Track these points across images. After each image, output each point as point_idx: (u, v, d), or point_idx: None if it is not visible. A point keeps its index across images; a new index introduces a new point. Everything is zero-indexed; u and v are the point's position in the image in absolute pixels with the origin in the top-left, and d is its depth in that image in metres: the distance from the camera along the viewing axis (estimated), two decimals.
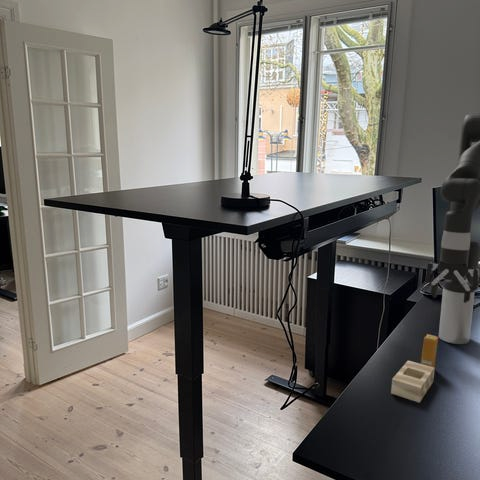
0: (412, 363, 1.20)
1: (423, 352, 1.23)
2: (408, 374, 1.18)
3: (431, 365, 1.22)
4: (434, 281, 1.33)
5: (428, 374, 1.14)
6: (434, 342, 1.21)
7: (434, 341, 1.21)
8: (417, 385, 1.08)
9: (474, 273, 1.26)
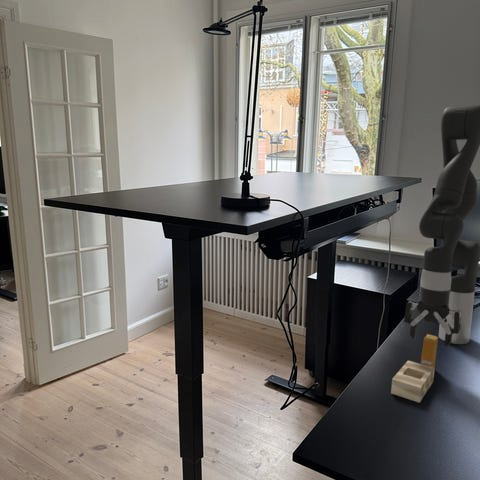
0: (412, 363, 1.20)
1: (423, 352, 1.23)
2: (408, 374, 1.18)
3: (431, 365, 1.22)
4: (413, 322, 1.24)
5: (428, 374, 1.14)
6: (434, 342, 1.21)
7: (434, 341, 1.21)
8: (417, 385, 1.08)
9: (455, 316, 1.17)
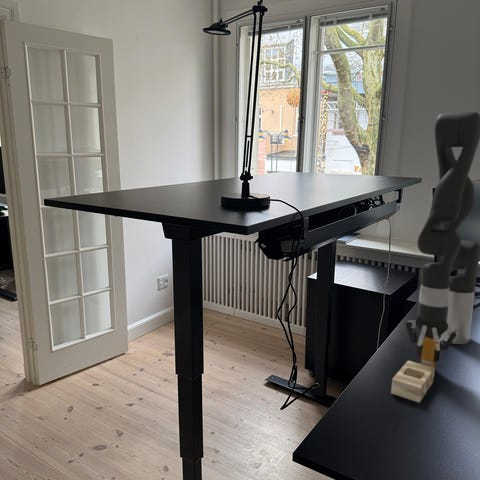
0: (412, 363, 1.20)
1: (423, 352, 1.23)
2: (408, 374, 1.18)
3: (431, 365, 1.22)
4: (420, 342, 1.24)
5: (428, 374, 1.14)
6: None
7: None
8: (417, 385, 1.08)
9: (451, 335, 1.18)
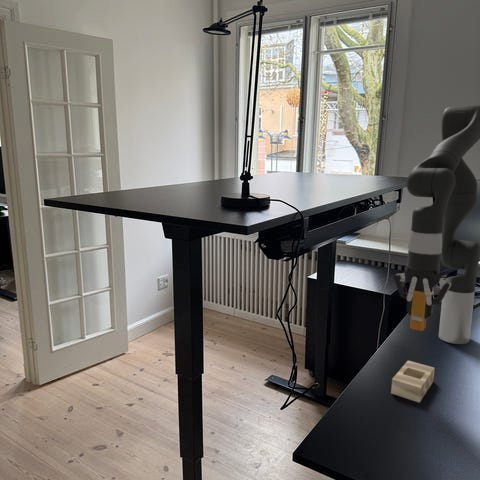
0: (412, 363, 1.20)
1: (413, 307, 1.11)
2: (408, 374, 1.18)
3: (422, 322, 1.10)
4: (410, 296, 1.11)
5: (428, 374, 1.14)
6: None
7: None
8: (417, 385, 1.08)
9: (444, 286, 1.06)
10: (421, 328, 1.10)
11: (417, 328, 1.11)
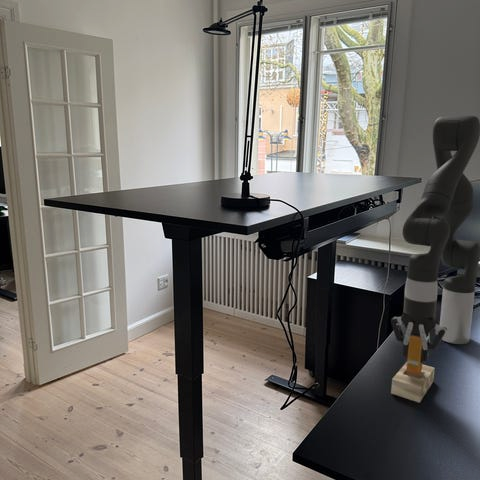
0: None
1: (409, 351, 1.13)
2: (408, 374, 1.18)
3: (418, 366, 1.12)
4: (406, 340, 1.13)
5: (428, 374, 1.14)
6: None
7: None
8: (417, 385, 1.08)
9: (439, 333, 1.08)
10: (417, 372, 1.12)
11: (413, 372, 1.13)
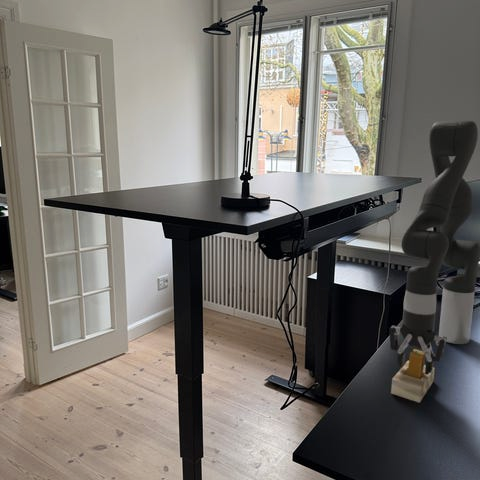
0: None
1: (409, 368, 1.14)
2: None
3: None
4: (400, 349, 1.14)
5: (428, 374, 1.14)
6: (421, 358, 1.11)
7: (421, 357, 1.11)
8: (417, 385, 1.08)
9: (440, 343, 1.08)
10: None
11: None
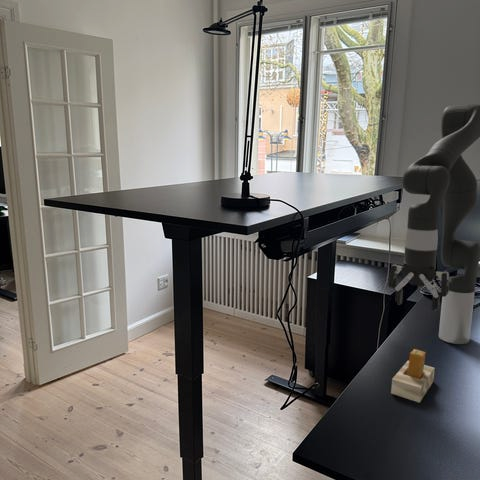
0: None
1: (409, 369, 1.14)
2: None
3: None
4: (398, 286, 1.15)
5: (428, 374, 1.14)
6: (421, 358, 1.11)
7: (421, 357, 1.11)
8: (417, 385, 1.08)
9: (442, 277, 1.08)
10: None
11: None
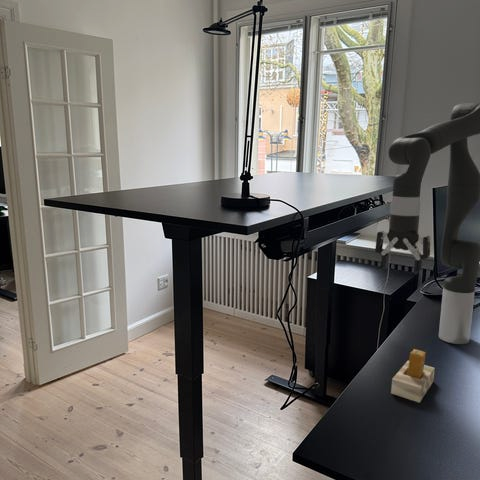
0: None
1: (409, 368, 1.14)
2: None
3: None
4: (384, 251, 1.24)
5: (428, 374, 1.14)
6: (421, 358, 1.11)
7: (421, 357, 1.11)
8: (417, 385, 1.08)
9: (424, 240, 1.17)
10: None
11: None
